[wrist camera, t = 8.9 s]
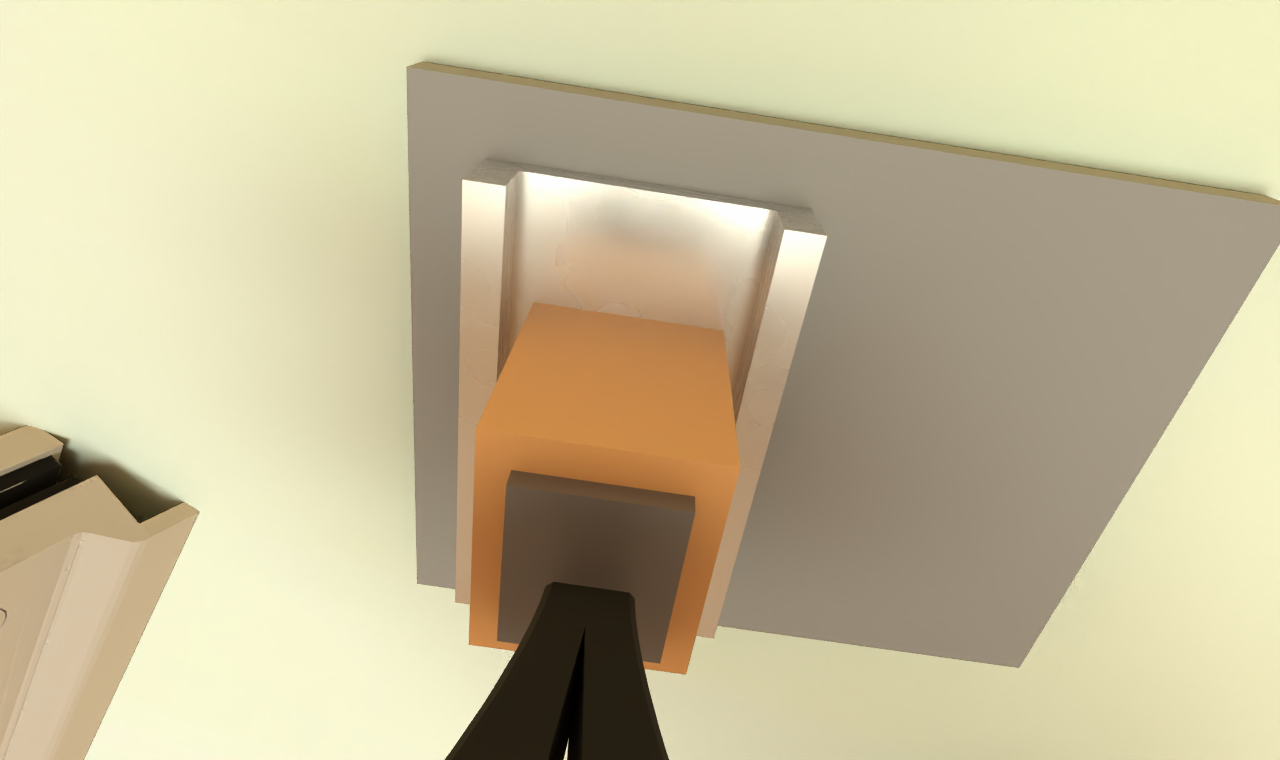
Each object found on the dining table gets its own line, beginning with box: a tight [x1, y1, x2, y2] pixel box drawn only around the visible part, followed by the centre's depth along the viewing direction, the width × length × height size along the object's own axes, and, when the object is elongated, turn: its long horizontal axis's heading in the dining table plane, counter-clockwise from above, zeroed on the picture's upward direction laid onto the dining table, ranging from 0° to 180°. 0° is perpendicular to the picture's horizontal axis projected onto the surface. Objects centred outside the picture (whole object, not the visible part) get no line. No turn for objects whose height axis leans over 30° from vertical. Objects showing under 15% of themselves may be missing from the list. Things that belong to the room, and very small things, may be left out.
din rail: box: [455, 158, 827, 638], centre depth 17 cm, size 11×7×2 cm, turn 172°
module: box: [469, 302, 740, 674], centre depth 14 cm, size 5×4×5 cm
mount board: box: [407, 62, 1280, 668], centre depth 18 cm, size 14×18×1 cm
